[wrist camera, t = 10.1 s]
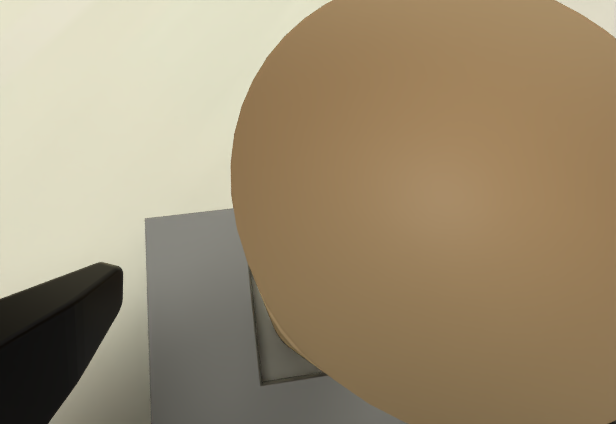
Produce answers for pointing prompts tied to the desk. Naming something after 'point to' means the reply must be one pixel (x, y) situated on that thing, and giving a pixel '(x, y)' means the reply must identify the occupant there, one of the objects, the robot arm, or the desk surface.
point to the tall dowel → (439, 206)
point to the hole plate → (222, 336)
